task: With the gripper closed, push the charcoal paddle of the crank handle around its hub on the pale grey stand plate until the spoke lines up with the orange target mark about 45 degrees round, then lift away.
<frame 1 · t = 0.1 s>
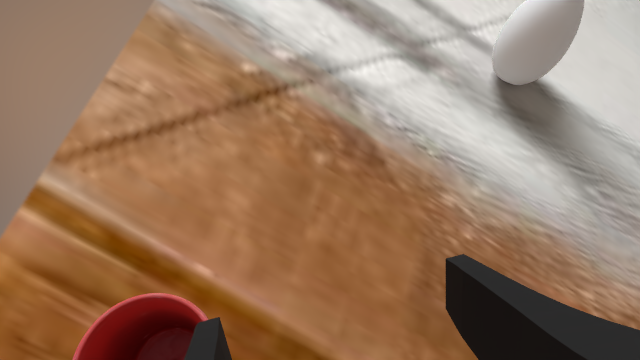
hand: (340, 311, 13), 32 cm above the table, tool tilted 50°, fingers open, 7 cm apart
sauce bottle: (507, 76, 59), on the table
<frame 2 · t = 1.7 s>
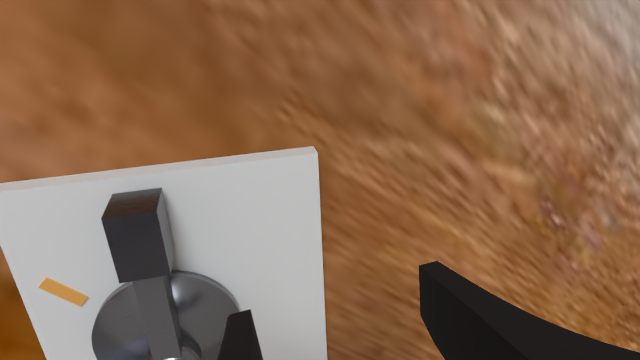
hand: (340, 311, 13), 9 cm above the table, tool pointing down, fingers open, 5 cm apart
crank handle: (160, 310, 20), point 3 cm above the table, hinge at 0.0°
stand plate: (176, 328, 24), on the table
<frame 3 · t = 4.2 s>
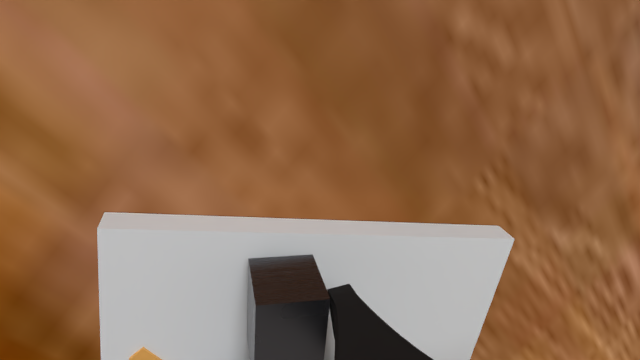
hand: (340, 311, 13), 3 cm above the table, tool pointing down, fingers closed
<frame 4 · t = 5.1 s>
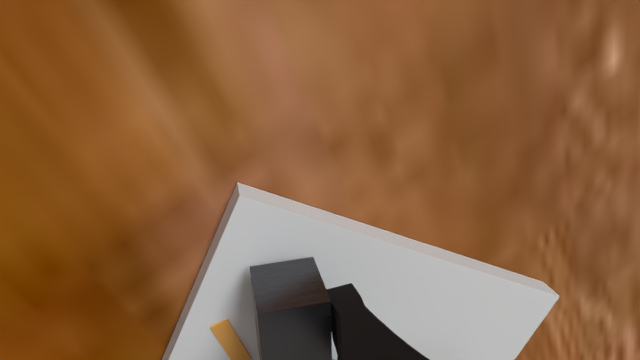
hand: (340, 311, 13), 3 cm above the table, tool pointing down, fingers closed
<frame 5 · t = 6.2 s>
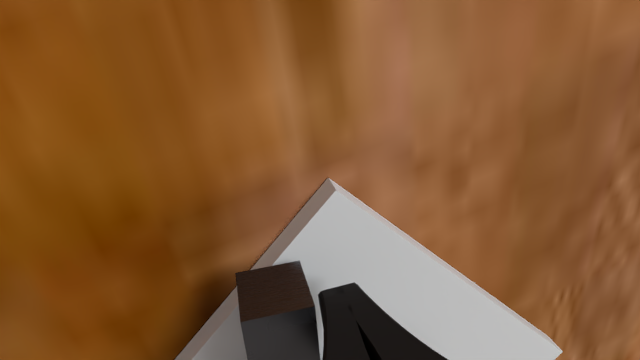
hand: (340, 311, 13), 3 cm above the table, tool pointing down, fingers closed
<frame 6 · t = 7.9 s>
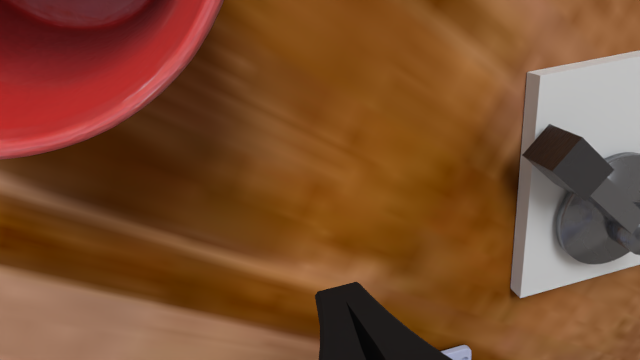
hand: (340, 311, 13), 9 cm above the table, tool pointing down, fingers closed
crank handle: (606, 200, 24), point 3 cm above the table, hinge at 44.8°
stand plate: (601, 207, 27), on the table
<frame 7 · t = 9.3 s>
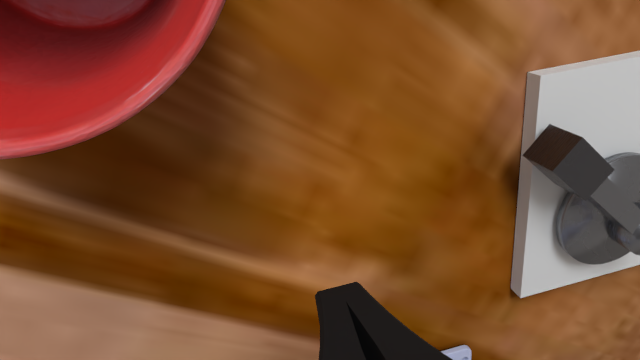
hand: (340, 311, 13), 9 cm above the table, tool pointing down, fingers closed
crank handle: (607, 200, 24), point 3 cm above the table, hinge at 44.8°
stand plate: (601, 207, 27), on the table
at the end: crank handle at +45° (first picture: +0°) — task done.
